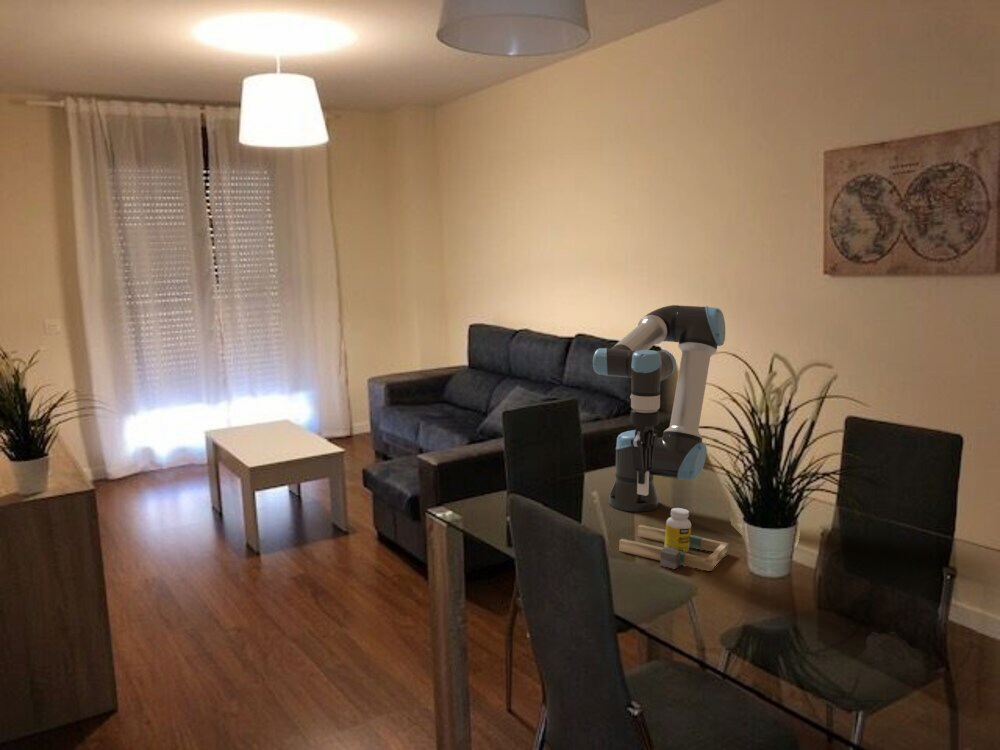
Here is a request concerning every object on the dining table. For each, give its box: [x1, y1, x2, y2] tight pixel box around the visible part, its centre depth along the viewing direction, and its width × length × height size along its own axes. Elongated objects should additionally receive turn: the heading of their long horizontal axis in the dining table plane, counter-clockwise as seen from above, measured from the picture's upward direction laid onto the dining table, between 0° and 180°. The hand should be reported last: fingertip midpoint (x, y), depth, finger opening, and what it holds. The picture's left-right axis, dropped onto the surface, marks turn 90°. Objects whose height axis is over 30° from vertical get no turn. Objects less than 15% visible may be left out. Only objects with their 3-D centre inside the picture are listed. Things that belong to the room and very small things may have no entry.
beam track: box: [618, 524, 729, 570], centre depth 216 cm, size 18×25×4 cm
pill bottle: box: [663, 507, 692, 554], centre depth 216 cm, size 6×6×12 cm
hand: (642, 494), depth 220 cm, fingers closed
